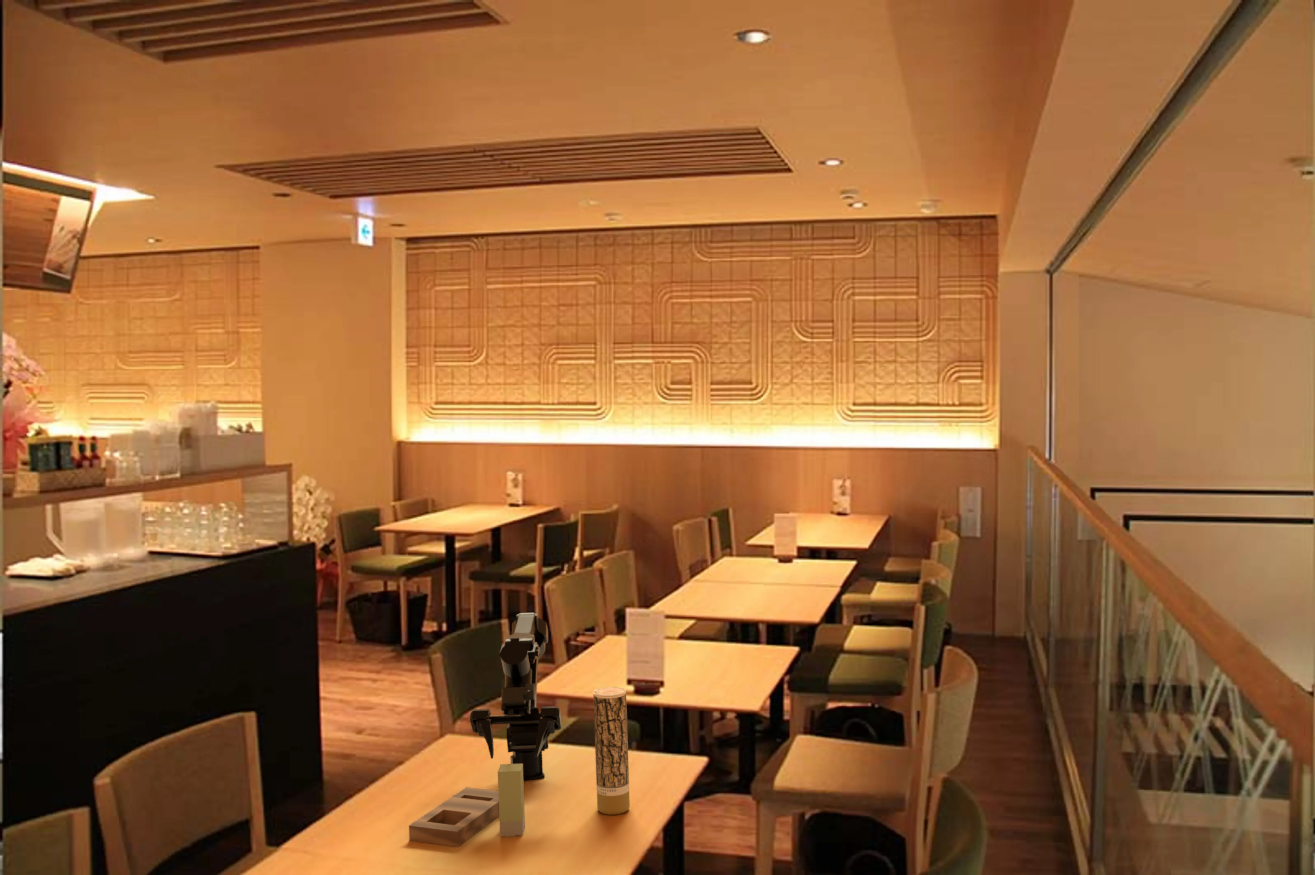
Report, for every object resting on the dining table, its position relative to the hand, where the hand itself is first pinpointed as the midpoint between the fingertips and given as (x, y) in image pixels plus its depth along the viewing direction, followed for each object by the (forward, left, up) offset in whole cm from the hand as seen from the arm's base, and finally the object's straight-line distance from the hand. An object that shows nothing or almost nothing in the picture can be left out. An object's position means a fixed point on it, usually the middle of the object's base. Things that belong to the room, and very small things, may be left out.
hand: (514, 756), depth 229 cm
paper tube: (-20, +4, -13) cm, 24 cm away
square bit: (+2, +7, -13) cm, 15 cm away
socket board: (+11, -2, -13) cm, 17 cm away
